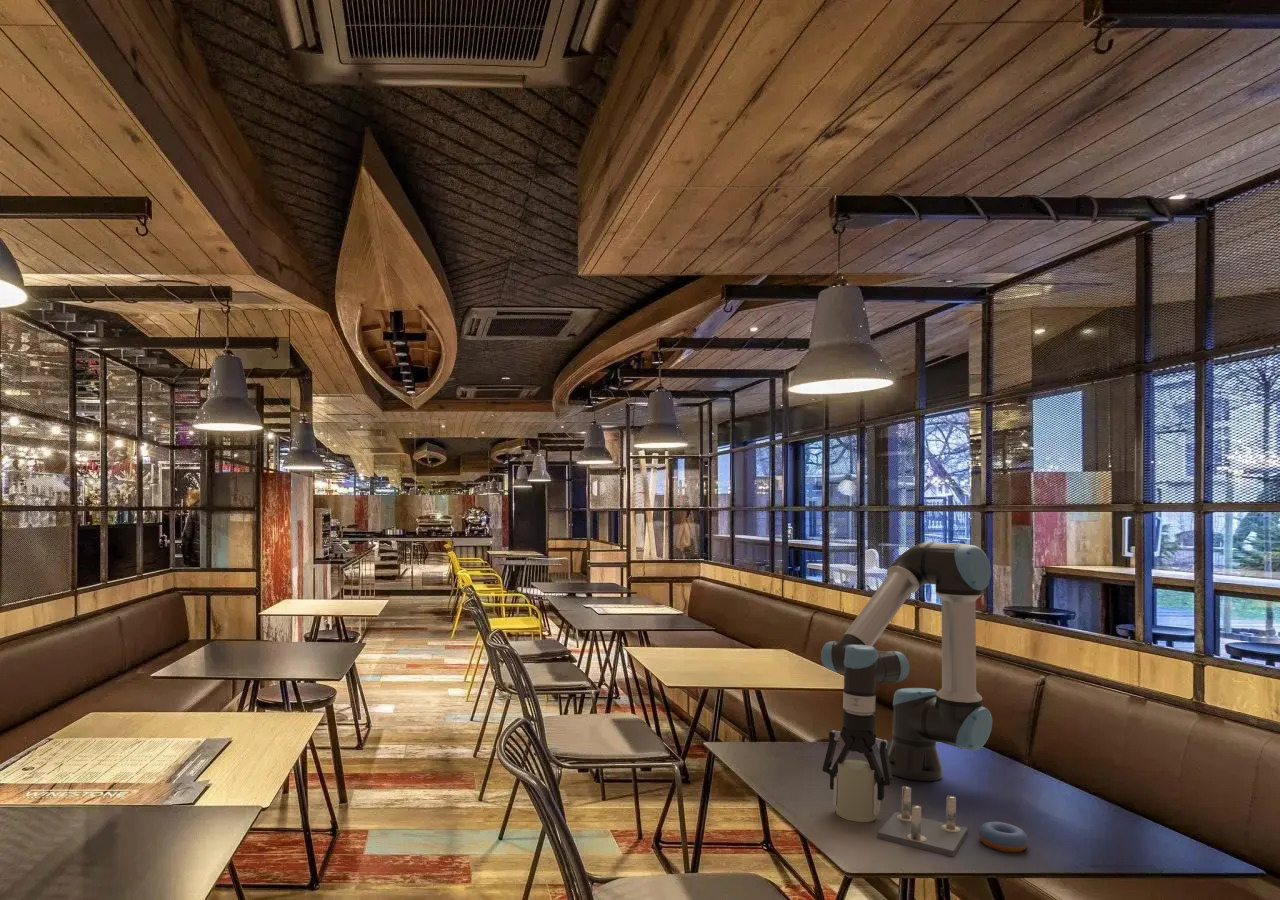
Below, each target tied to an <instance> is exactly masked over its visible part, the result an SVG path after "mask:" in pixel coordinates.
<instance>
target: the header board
mask: <svg viewBox="0 0 1280 900" xmlns="http://www.w3.org/2000/svg"><path fill="white" fill-rule="evenodd" d="M901 814H902V812H899V811H895V812H894V813H893V814H892V816H890V817H889V819H887V821H886V822H885V823H884V824H883V825H882V827H881V828H880V829H879V830H878V831H877V834H876V837H877V838H876V839H879V840H884V841H889V842H892V843H896V844H901V845H905V846H909V847H913V848H916V849H920V850H925V851H928V852H931V853H932V852H933V853H936V854H940V855H945V856H947V857H955V855H956V854H957V852H958V850H959V849H960V847H961V846H962V844H963V842H964V840H965V838H966V836H967V835H968V833H969V832H968V829H969V828H968V827H963V826H960V825H956V829H955V830H951V829H947V828H946V822H942V821H937V820H934V819H929V818H924V817H921V840H920V841H915V840H912V839H911V818H910V819H904V818H902V817H901Z"/></svg>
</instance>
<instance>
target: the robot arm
mask: <svg viewBox="0 0 1280 900" xmlns="http://www.w3.org/2000/svg"><path fill="white" fill-rule="evenodd" d="M991 568H992V567H991V563H990V560H989V558H988V556H987V554H986V553H985V551H984V550H983V549H982V548H981V547H979V546H977V545H972V544H966V543H954V542H953V543H950V542H935V541H924V542H920V543H917V544H916V545H913V546H912V547H910V548H908V549H907V550H905V551H904V552H903V553H901V555H899V556H898V557H897V558H896V559H895V560H894V561H893V562H892V563H891V565H890V566H889V567H888V568H887V570H886V578H885V579H884V580H883V582H882V583H881V584H880V586H879V587H878V589H876V591H875V592H874V593H873V595H872V596H871V598H869V601H867V603H866V604H865V606H863V609H861V611H860V613H859V614H858V615H857V616H856V618H854V620H853V622H852V623H851V625H850V626H849V627H848V629H847V630H846V631H845V632H844V634H843V636H842V637H841V638H840V639H839V641H837V640H833V641H828V642H825V644H824V645H823V647H822V649H821V651H820V659H821V663H822V665H823V667H825V669H827V670H829V671H832V672H835V673H838V674H843V693H842V694H843V695H842V696H843V698H842V699H843V701H842V702H843V703H842V708H843V711H842V725H841V727H842V728H841V731H840V730H838V731H837V730H836V729H832V730H831V731H829V733H828V738H829V739H828V745H827V749H826V753H825V758H824V760H823V766H822V771H823V773H827V774H828V775H829V788H830V790H831V791H833V801H832V802H833V803H832V806H834V807H837V792H838V763H840V764H841V763H842V762H844V760H847V757H848V755H849V753H850V752H857V753H859V754H863V755H864V757H865V758H866V761H867V762H868V763H869V765H870V768H871V770H874V777H875V780H876V785H875V786H874V806H873V815H876V816H878V815H879V813H881V812H880V811H881V810H880V809H881V801H882V802H883V800H884V799H885V789H886V788H885V787H886V786H890V785H892V784H893V782H894V778H893V776H895V777H899V778H902V779H907V780H913V781H918V782H919V781H921V782H931V781H932V782H933V781H938V780H940V779H942V777H943V766H942V764H941V759H940V757H939V754H938V751H937V742H938V743H941V744H946V745H948V746H951V747H955V748H957V749H959V750H968V751H977V750H979V749H982V747H983V746H984V745H985V744H986V743H987V741H988V740H989V737H990V735H991V732H992V730H993V729H992V728H993V727H992V726H993V716H992V713H991V711H990V710H989V709H988V708H987V707H985V706H983V696H982V695H981V694H980V693H979V692H978V691H977V646H976V645H977V639H976V637H977V635H976V634H977V632H976V629H977V627H976V623H977V622H976V619H977V618H976V616H977V615H976V601H977V600H978V599H979V598H980V597H981V596H982V590H985V589H986V588H987V587H988V586H989V584H990V580H991V576H992V570H991ZM929 584H930V585H934V586H935V594H936V595H937V596H938V598H940V599H941V688H940V689H939V690H938V691H937V689H934V688H928V687H927V688H926V687H906V688H900V689H897V690H896V691H895V692H894V694H893V701H892V711H893V712H892V740H891V745H890V747H889V740H888V739H886V738H885V739H881V738H878V737H877V736H876V715H875V712H876V702H877V698H876V697H877V696H876V695H877V685H883V684H885V685H886V684H896V683H898V682H902V681H904V680H905V679H906V678H907V677H908V676H909V673H910V662H909V660H908V658H907V656H906V655H905V654H904V653H903V652H901V651H897V650H888V651H885V650H879V649H876V647H875V646H874V645H875V644H876V643H877V641H878V639H879V638H880V637H881V635H882V634H883V633H884V631H885V630H886V628H887V627H888V626H889V624H890V623H891V621H892V620H893V618H894V617H895V615H896V614H897V613H898V612H899V610H900V609H901V607H902V606H903V605H904V603H905V602H906V600H907V599H908V598H909V596H910V595H911V594H913V593H917V592H918V590H919V589H920V588H921V587H922V586H924V585H929ZM840 738H841V740H842V741H843V742H844V745H843V748H842V749H841V751H840V754H839V755H838V757H837V758H836V760H835V762H834V764H833V760H834V756H835V753H836V752H835V751H836V749H837V748H836V747H837V744H838V741H839V740H840ZM875 744H876V746H877V748H878V749H879V757H880V762H881V768H882V770H881V768H880V765H879V763H878V760H877V758H876V756H875V752H874V749H873V746H874V745H875ZM888 747H889V748H888ZM888 749H889V750H888ZM832 764H833V766H832Z"/></svg>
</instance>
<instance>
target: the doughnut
mask: <svg viewBox="0 0 1280 900" xmlns="http://www.w3.org/2000/svg"><path fill="white" fill-rule="evenodd" d="M978 838H979V840H980V841H981V842H982V843H983V845H985V846H986V847H989V848H991V849H993V850H997V851H999V852H1000V851H1001V852H1005V853H1021V852H1023V851H1024V850H1026V849H1027V848H1028V845H1029V843H1028V842H1029V837H1028V835H1027V833H1025V831H1024V830H1023V829H1022V828H1020V827H1018V826H1017V825H1014V824H1010V823H1007V822H1001V821H988V822H987V821H986V822H984V823H982V824H981V825H980V827H979V829H978Z"/></svg>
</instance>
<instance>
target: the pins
mask: <svg viewBox="0 0 1280 900" xmlns="http://www.w3.org/2000/svg"><path fill="white" fill-rule="evenodd" d="M945 809H946V810H945V813H946V815H945V820H946V821H945V823H946V828H947V829H951V830H955V829H956V826H957V825H956V823H957V822H956V819H957V815H956V814H957V797H956V796H955V795H951V794H949V795H946V808H945ZM901 813H902V814H901V817H902V818H904V819H910V818H911V839H912V840H915V841H920V840H921V818H922V806H921V805H917V804H912V787H910V786H909V785H908V786H907V785H903V786H901Z"/></svg>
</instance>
